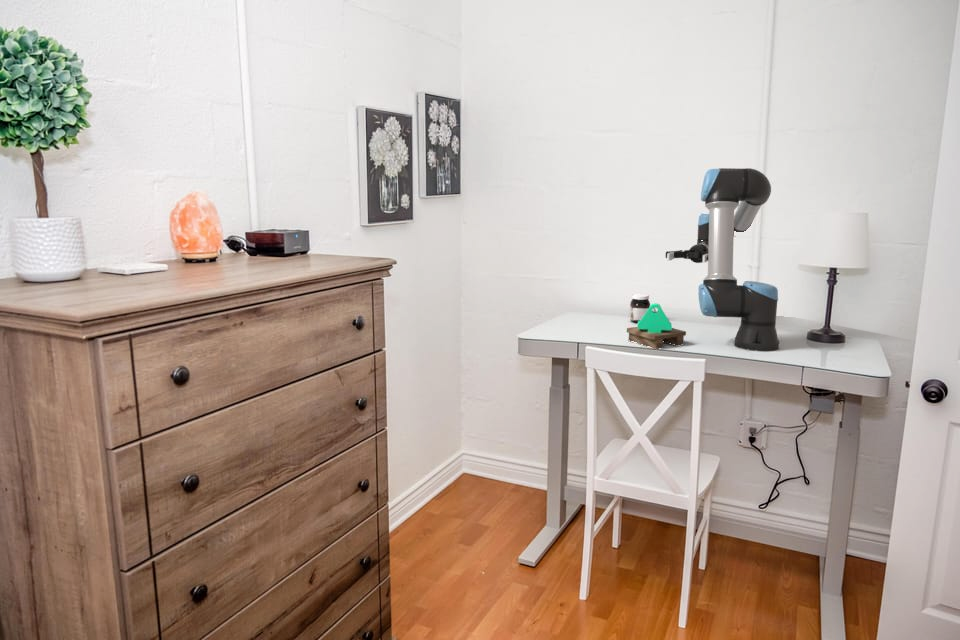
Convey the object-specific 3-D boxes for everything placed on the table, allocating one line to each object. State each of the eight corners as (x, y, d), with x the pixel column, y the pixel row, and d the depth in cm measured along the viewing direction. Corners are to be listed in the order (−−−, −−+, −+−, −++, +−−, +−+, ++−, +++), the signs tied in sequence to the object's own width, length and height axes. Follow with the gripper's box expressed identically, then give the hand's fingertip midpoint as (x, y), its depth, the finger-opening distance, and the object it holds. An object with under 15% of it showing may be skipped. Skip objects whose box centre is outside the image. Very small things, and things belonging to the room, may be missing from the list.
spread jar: (627, 319, 298) (628, 293, 296) (653, 319, 299) (654, 293, 296) (635, 325, 286) (636, 298, 284) (661, 325, 287) (663, 297, 285)
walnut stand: (685, 344, 253) (685, 331, 252) (654, 349, 246) (654, 335, 245) (656, 336, 265) (657, 324, 264) (626, 341, 259) (627, 328, 258)
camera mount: (670, 328, 256) (672, 301, 254) (671, 333, 249) (672, 305, 247) (637, 327, 259) (638, 300, 257) (637, 331, 251) (638, 304, 249)
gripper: (730, 263, 276) (718, 269, 258) (669, 260, 289) (653, 265, 271) (732, 245, 274) (719, 249, 257) (670, 242, 287) (654, 246, 270)
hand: (685, 258), depth 264 cm, fingers open, 13 cm apart
